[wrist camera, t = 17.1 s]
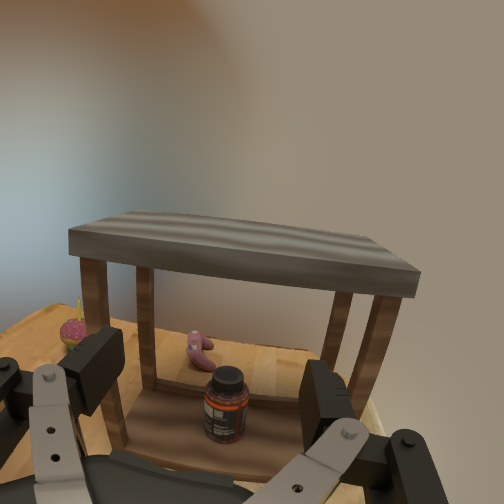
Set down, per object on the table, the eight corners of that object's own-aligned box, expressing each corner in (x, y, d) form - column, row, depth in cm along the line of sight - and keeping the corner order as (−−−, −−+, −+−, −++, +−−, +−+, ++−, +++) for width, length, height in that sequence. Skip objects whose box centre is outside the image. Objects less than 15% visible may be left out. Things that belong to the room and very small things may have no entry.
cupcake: (74, 337, 59) (68, 289, 56) (105, 344, 59) (100, 295, 56) (56, 356, 50) (46, 304, 47) (89, 365, 51) (81, 312, 48)
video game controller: (196, 352, 65) (183, 328, 63) (215, 345, 66) (202, 320, 64) (196, 378, 56) (181, 352, 54) (217, 371, 56) (202, 344, 54)
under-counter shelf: (333, 486, 31) (421, 271, 23) (106, 452, 32) (68, 228, 24) (320, 411, 47) (365, 236, 40) (143, 387, 48) (138, 209, 41)
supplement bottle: (239, 416, 42) (246, 360, 40) (248, 443, 37) (257, 386, 34) (201, 418, 41) (203, 361, 38) (206, 446, 35) (208, 389, 33)
